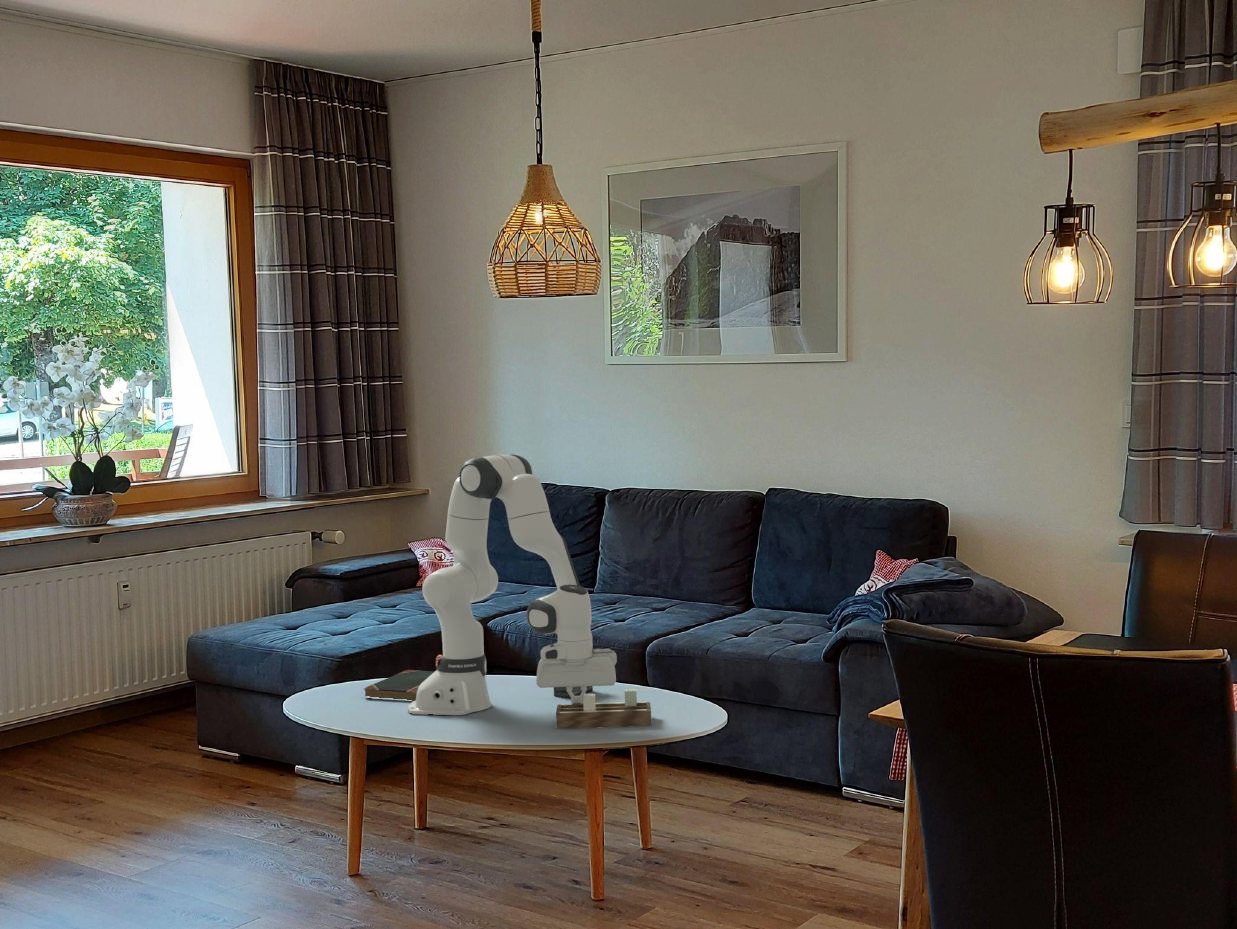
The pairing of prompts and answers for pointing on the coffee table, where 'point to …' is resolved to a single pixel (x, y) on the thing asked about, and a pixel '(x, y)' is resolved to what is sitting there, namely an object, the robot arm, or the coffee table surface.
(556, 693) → the small box
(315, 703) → the coffee table surface
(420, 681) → the book
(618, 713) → the wooden shelf rack
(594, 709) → the offwhite block
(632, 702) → the sage tab
